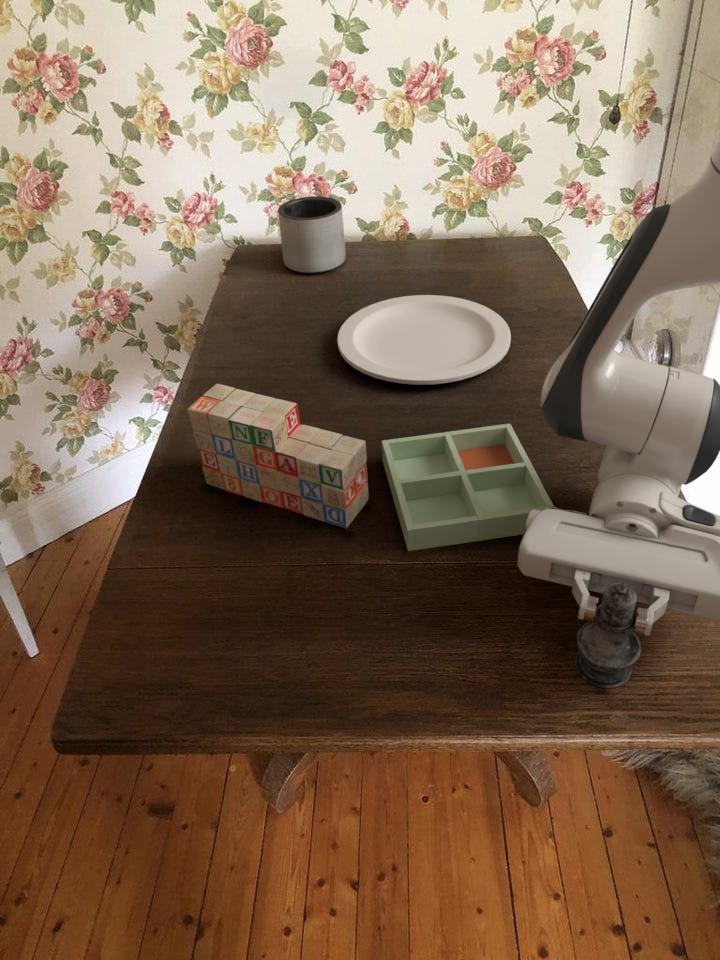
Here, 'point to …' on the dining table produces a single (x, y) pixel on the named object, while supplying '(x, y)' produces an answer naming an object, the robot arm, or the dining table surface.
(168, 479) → the dining table surface
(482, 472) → the grid
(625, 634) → the grey chess piece
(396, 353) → the plate
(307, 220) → the planter
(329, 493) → the stack of blocks
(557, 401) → the robot arm
